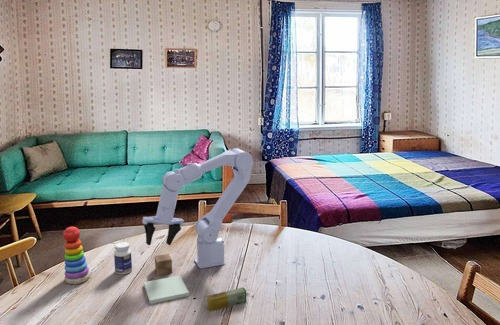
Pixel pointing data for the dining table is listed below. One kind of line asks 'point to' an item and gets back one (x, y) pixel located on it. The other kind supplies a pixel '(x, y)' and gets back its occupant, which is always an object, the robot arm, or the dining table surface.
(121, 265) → the pill bottle
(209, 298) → the medication box
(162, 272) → the walnut cube
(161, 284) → the sage tile
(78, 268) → the stacking toy
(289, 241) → the dining table surface
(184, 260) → the dining table surface
